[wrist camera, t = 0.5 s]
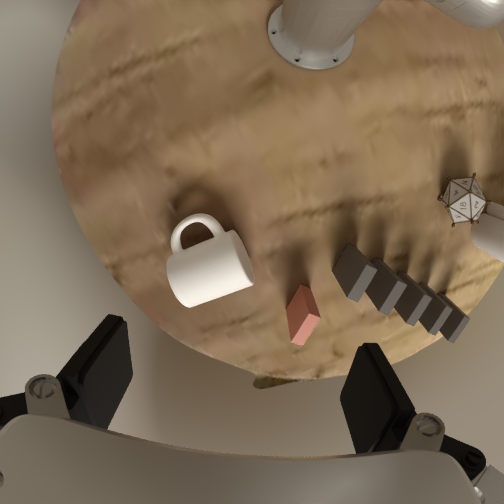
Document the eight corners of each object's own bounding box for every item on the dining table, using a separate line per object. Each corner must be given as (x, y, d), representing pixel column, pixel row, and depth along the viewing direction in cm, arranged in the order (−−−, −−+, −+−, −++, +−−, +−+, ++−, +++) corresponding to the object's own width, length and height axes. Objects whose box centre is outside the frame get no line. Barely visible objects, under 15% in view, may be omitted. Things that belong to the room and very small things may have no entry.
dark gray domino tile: (375, 257, 44) (398, 280, 36) (383, 261, 45) (407, 285, 36) (359, 283, 46) (378, 311, 37) (368, 287, 46) (388, 315, 38)
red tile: (300, 284, 46) (309, 313, 38) (310, 288, 46) (320, 317, 38) (286, 309, 48) (291, 341, 39) (295, 313, 48) (302, 345, 39)
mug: (255, 270, 46) (254, 294, 38) (197, 292, 47) (187, 318, 39) (223, 198, 42) (215, 208, 35) (163, 224, 44) (145, 240, 36)
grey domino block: (439, 292, 46) (464, 316, 38) (445, 295, 47) (470, 318, 38) (425, 314, 48) (447, 340, 39) (431, 317, 48) (453, 343, 40)
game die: (431, 187, 44) (438, 163, 35) (472, 182, 40) (486, 158, 31) (441, 237, 42) (451, 223, 34) (483, 231, 39) (501, 217, 30)
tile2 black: (347, 243, 44) (366, 264, 35) (356, 247, 44) (377, 269, 35) (331, 271, 45) (347, 297, 37) (341, 275, 45) (357, 302, 37)
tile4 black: (399, 270, 45) (424, 294, 37) (407, 274, 45) (432, 298, 37) (384, 295, 47) (405, 322, 38) (391, 298, 47) (413, 326, 38)
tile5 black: (421, 281, 46) (446, 305, 37) (427, 285, 46) (452, 309, 37) (406, 305, 47) (428, 332, 39) (412, 308, 47) (435, 335, 39)
